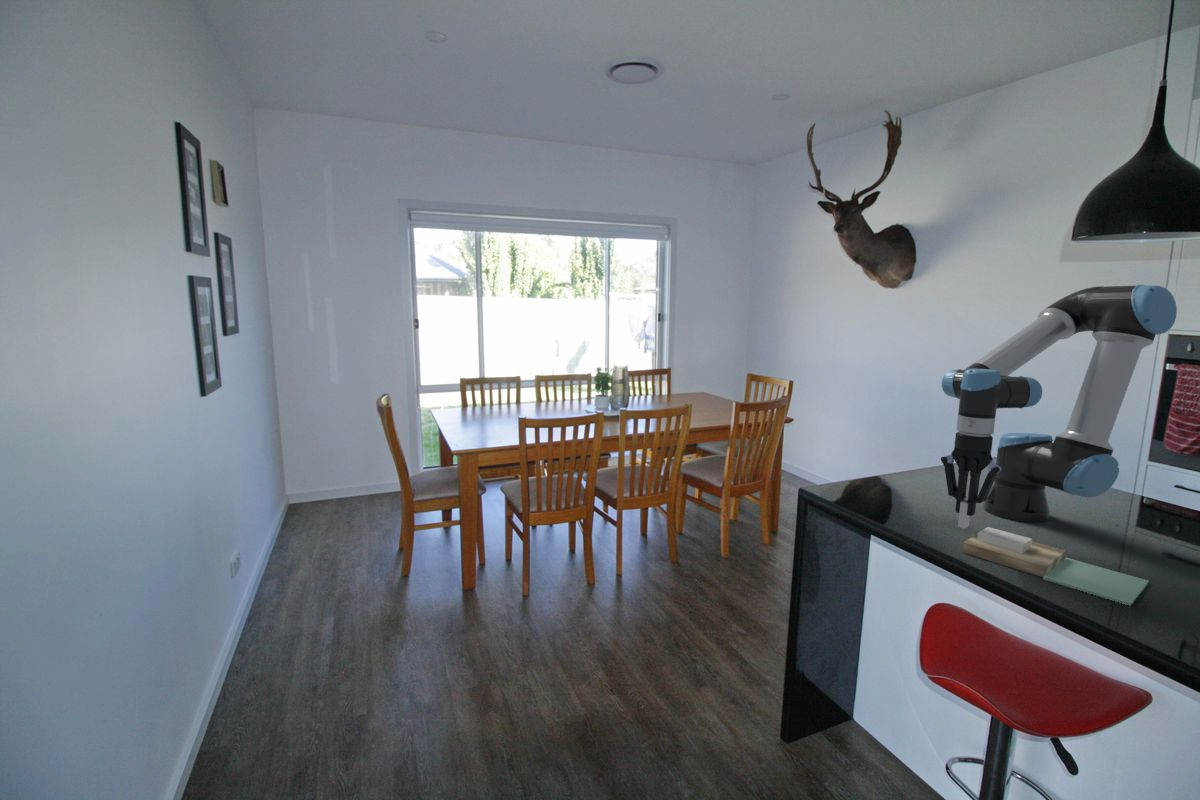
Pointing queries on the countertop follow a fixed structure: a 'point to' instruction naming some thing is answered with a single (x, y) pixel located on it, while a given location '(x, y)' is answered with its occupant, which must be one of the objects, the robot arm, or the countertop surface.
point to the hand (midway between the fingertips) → (963, 526)
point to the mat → (1097, 581)
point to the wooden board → (1017, 556)
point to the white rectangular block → (1004, 539)
